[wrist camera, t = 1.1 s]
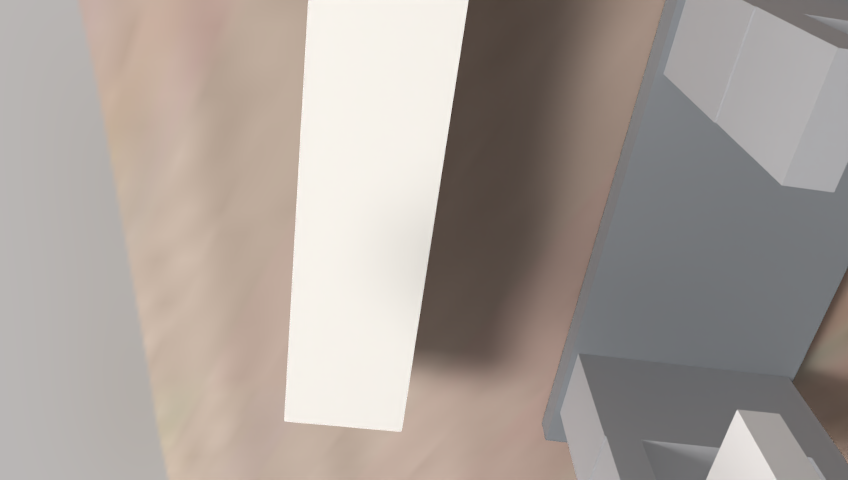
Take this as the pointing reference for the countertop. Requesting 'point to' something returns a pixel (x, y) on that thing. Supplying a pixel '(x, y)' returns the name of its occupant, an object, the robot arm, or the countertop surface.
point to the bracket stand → (713, 244)
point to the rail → (367, 202)
